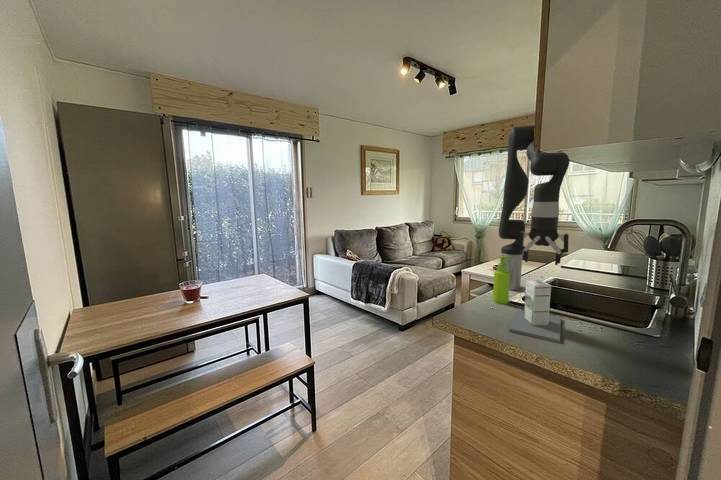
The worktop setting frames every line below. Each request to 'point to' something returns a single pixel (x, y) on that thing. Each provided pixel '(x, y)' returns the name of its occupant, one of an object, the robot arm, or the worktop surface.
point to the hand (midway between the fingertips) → (540, 263)
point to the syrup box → (537, 302)
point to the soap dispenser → (501, 282)
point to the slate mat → (537, 327)
